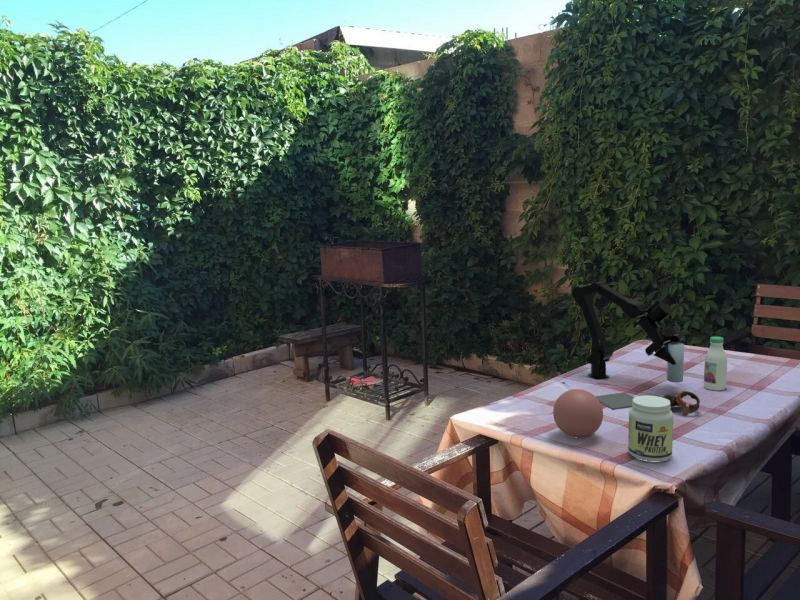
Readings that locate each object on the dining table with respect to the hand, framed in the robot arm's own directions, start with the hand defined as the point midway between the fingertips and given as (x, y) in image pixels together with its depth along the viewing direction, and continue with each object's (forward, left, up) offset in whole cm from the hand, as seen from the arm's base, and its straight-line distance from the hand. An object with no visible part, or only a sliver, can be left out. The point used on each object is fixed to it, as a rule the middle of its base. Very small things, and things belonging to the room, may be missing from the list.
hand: (679, 362), depth 240 cm
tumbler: (-1, -1, -7) cm, 7 cm away
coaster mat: (-1, -24, -12) cm, 27 cm away
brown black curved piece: (+15, -11, -13) cm, 23 cm away
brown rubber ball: (+22, -53, -13) cm, 59 cm away
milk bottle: (-1, +18, -13) cm, 22 cm away
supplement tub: (+44, -43, -13) cm, 63 cm away
